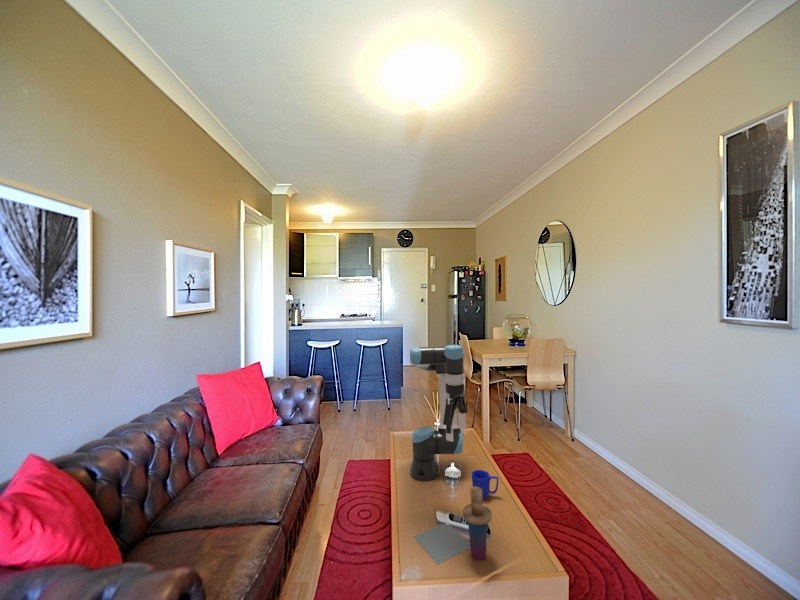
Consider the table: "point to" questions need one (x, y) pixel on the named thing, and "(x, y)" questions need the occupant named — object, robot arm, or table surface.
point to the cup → (478, 541)
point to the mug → (483, 482)
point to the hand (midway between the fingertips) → (456, 434)
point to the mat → (442, 543)
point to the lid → (477, 509)
